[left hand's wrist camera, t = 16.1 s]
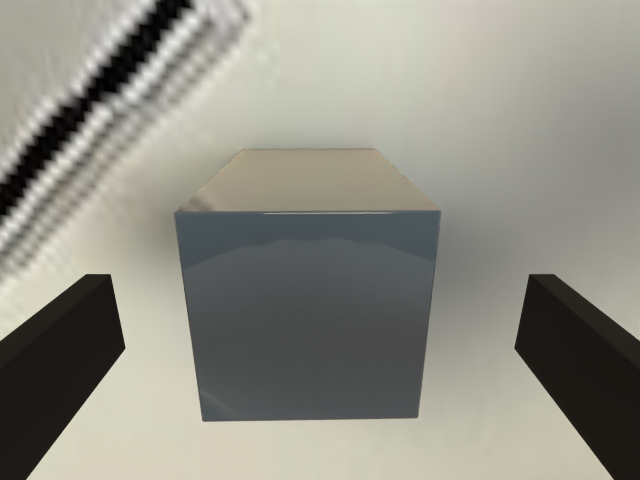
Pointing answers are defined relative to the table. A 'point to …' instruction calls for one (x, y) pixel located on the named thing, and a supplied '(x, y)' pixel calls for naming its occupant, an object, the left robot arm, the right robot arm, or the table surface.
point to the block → (308, 286)
